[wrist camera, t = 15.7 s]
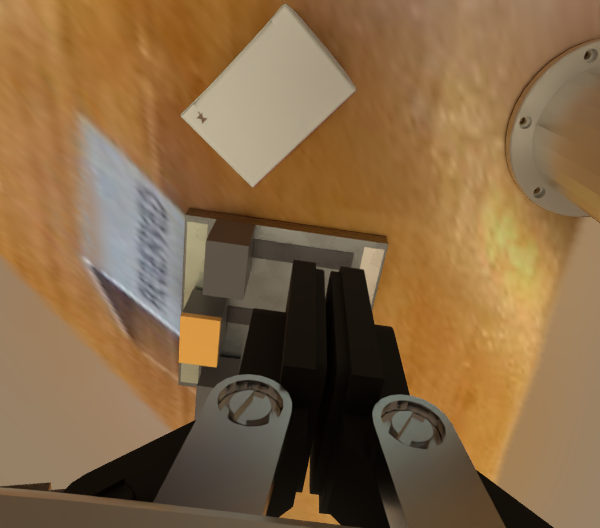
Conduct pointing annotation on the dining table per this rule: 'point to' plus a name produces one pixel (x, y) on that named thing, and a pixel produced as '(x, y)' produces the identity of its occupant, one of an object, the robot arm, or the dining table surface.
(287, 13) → the small box
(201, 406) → the block
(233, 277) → the breaker
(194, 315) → the block
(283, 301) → the panel
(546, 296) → the dining table surface
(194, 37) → the dining table surface
